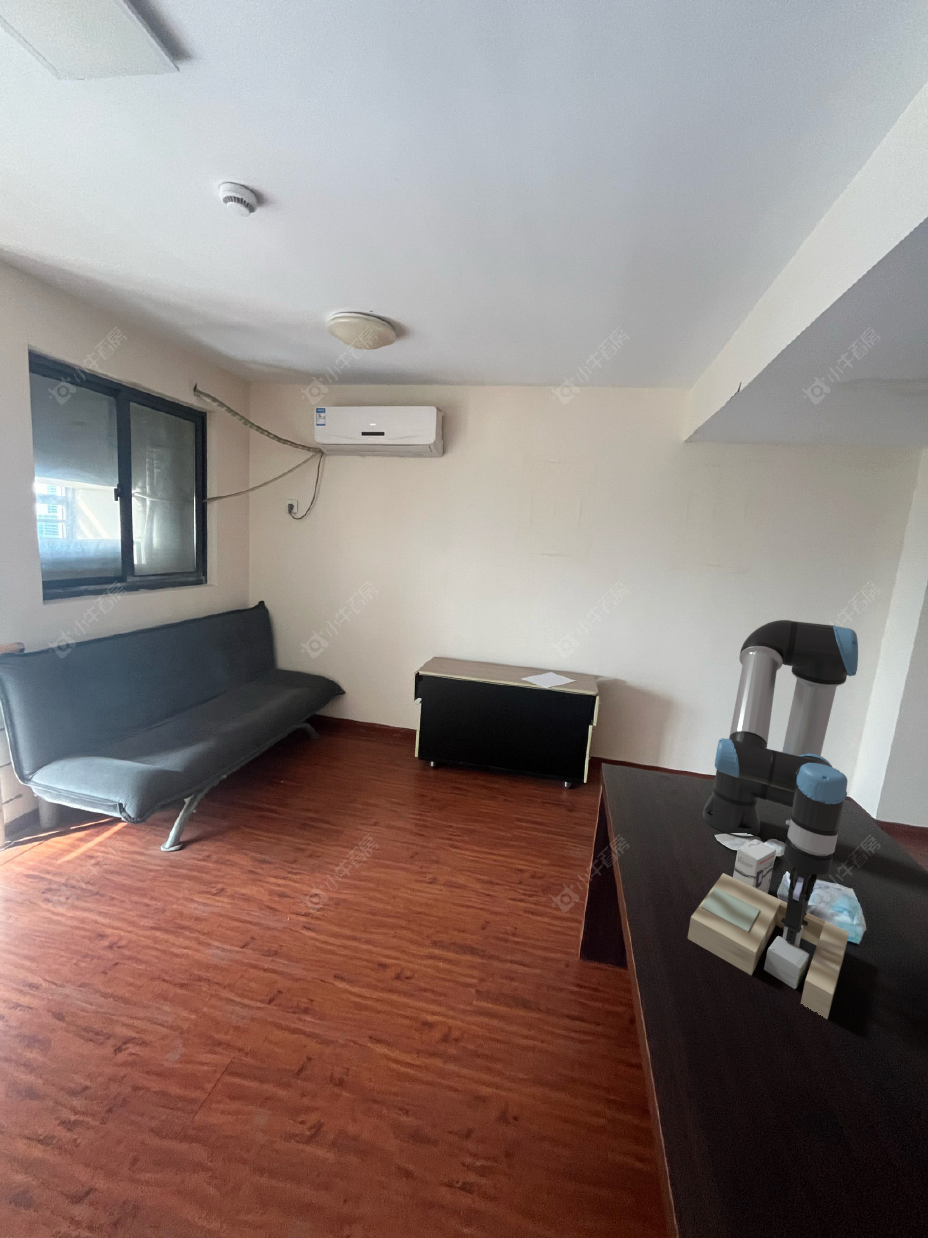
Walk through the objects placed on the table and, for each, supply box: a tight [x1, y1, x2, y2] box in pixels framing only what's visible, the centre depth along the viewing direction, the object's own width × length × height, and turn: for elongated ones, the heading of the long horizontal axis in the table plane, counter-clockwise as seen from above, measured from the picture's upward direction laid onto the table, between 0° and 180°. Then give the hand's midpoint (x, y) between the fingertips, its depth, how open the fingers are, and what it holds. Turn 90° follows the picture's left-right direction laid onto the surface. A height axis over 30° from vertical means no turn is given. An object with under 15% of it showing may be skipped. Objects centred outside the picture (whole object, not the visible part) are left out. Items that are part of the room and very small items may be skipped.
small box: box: [763, 935, 810, 990], centre depth 96 cm, size 6×6×5 cm
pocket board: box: [687, 872, 850, 1020], centre depth 103 cm, size 21×24×5 cm
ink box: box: [732, 839, 777, 894], centre depth 118 cm, size 8×5×12 cm, turn 123°
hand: (788, 953), depth 99 cm, fingers closed
